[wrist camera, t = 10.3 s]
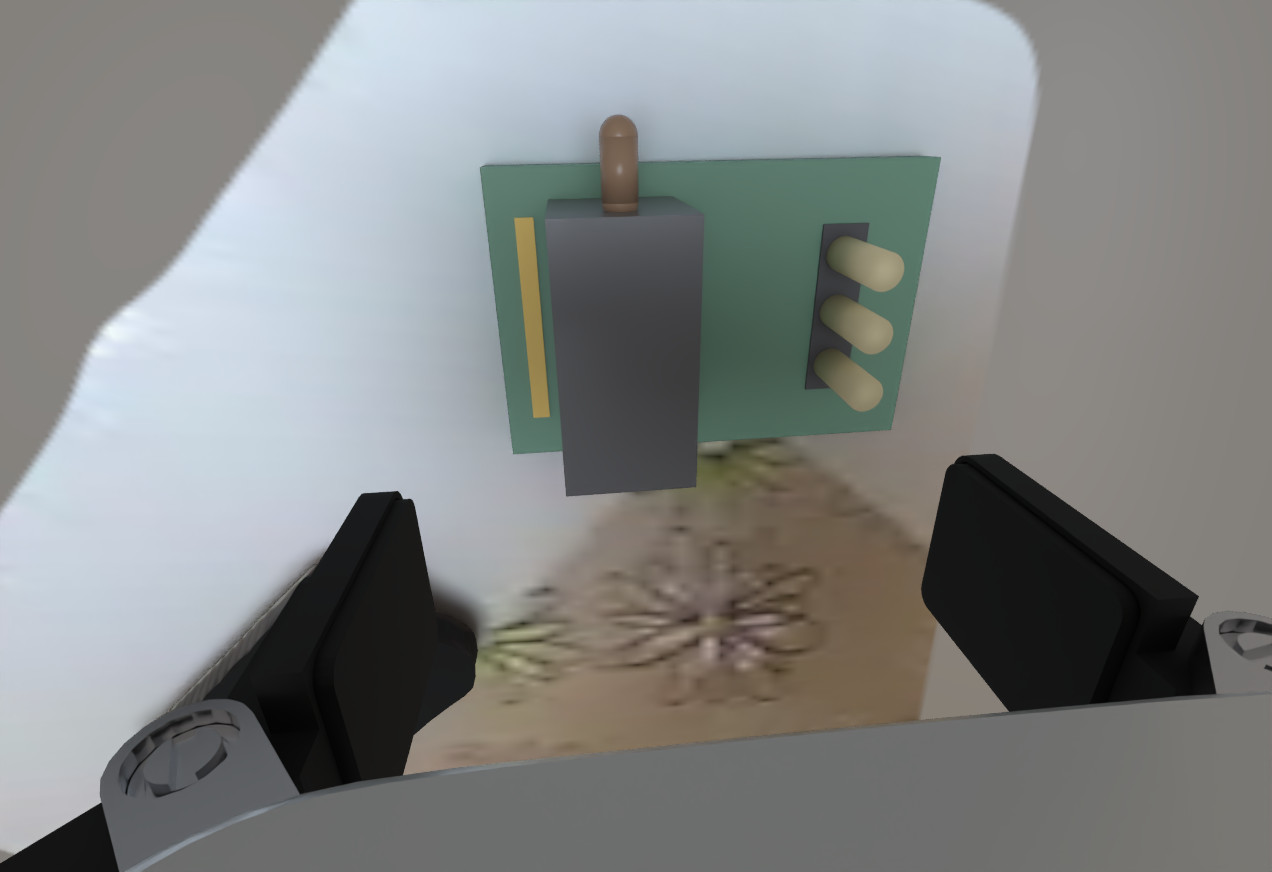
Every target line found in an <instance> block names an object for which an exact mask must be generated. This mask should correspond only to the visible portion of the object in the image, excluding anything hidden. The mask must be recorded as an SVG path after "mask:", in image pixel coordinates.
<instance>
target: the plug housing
mask: <svg viewBox="0 0 1272 872" xmlns="http://www.w3.org/2000/svg"><path fill="white" fill-rule="evenodd" d="M599 146H600V172H601V198H583V199H548V203H547V210H546V216H545V226H546V239H547V252H548V265H549V278H550V291H551V304H552V317H553V330H554V343H555V356H556V369H557V382H558V395H559V409H560V422H561V435H562V448H563V461H564V474H565V487H566V496H579V495H593V494H607V493H621V492H634V491H648V490H662V489H676V488H690V487H696V474H697V442H698V409H699V377H700V344H701V312H702V279H703V247H704V214H703V213H701V212H700V211H698V210H696V209H694V208H692V207H691V206H689V205H687V204H685V203H684V202H682V201H680V200H678V199H677V198H675V197H673V196H654V197H639V186H638V133H637V129H636V126H635V124H634V123H633V122H632V120H631V119H629V118H628V117H626V116H624V115H613V116H610V117H609V118H607V119H606V120H605V121H604V122H603V124H602V126H601V128H600V132H599Z"/></svg>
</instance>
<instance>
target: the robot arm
mask: <svg viewBox="0 0 1272 872" xmlns="http://www.w3.org/2000/svg"><path fill="white" fill-rule="evenodd" d="M921 591H922V597H923V601H924V603H925V605H926V607H927V608H928V609H929V611H930V612H931V613H932V614H933V616H934V617H935V618H936V620H937V621H938V622H939V623H940V625H941V626H942V627H943V628H944V630H945V631H946V632H947V633H948V635H949V636H950V637H951V639H952V640H953V641H954V642H955V644H956V645H957V646H958V647H959V649H960V650H961V651H962V652H963V654H964V655H965V656H966V657H967V659H968V660H969V661H970V663H971V664H972V665H973V666H974V668H975V669H976V670H977V671H978V673H979V674H980V675H981V677H982V678H983V679H984V680H985V682H986V683H987V684H988V685H989V687H990V688H991V689H992V691H993V692H994V693H995V694H996V696H997V697H998V698H999V699H1000V701H1001V702H1002V703H1003V704H1004V706H1005V707H1006V708H1007V710H1008V711H1009V712H1002V713H991V714H980V715H969V716H958V717H948V718H937V719H926V720H916V721H906V722H896V723H885V724H875V725H865V726H854V727H844V728H834V729H824V730H814V731H804V732H794V733H784V734H774V735H763V736H753V737H743V738H733V739H723V740H714V741H704V742H695V743H685V744H675V745H666V746H656V747H647V748H637V749H628V750H618V751H608V752H599V753H589V754H580V755H570V756H561V757H551V758H541V759H532V760H523V761H513V762H504V763H495V764H486V765H476V766H467V767H458V768H451V769H444V770H437V771H430V772H423V773H416V774H409V775H403V773H404V769H405V765H406V762H407V758H408V754H409V750H410V747H411V743H412V739H413V735H414V732H415V728H416V724H417V720H418V717H419V713H420V709H421V705H422V702H423V698H424V694H425V690H426V687H427V683H428V679H429V676H430V672H431V668H432V664H433V661H434V657H435V653H436V649H437V644H438V624H437V619H436V614H435V608H434V603H433V598H432V593H431V588H430V583H429V577H428V572H427V567H426V562H425V557H424V551H423V546H422V541H421V536H420V531H419V526H418V520H417V515H416V510H415V506H414V503H413V500H411V499H403V498H402V496H401V494H400V493H399V492H398V491H394V492H378V493H363V494H361V495H360V497H359V498H358V500H357V501H356V503H355V505H354V506H353V508H352V510H351V511H350V513H349V515H348V516H347V518H346V519H345V521H344V523H343V524H342V526H341V528H340V529H339V531H338V533H337V534H336V536H335V537H334V539H333V541H332V542H331V544H330V546H329V547H328V549H327V551H326V552H325V554H324V556H323V557H322V559H321V560H320V562H319V564H318V565H317V567H316V569H315V570H314V572H313V574H312V575H309V576H307V577H304V578H303V579H302V581H301V582H300V583H299V584H298V586H297V587H296V589H295V590H294V592H293V594H292V595H291V597H290V598H289V600H288V602H287V603H286V605H285V606H284V608H283V610H282V611H281V613H280V614H279V616H278V618H277V619H276V621H275V622H274V624H273V626H272V627H271V629H270V630H269V632H268V633H267V635H266V637H265V638H264V640H263V641H262V643H261V645H260V646H259V648H258V649H257V651H256V653H255V654H254V656H253V657H252V659H251V661H250V662H249V664H248V665H247V667H246V669H245V670H244V672H243V673H242V675H241V677H240V678H239V680H238V681H237V683H236V684H235V686H234V688H233V689H232V691H231V692H230V694H229V696H228V697H227V699H210V700H206V701H202V702H197V703H193V704H189V705H186V706H184V707H182V708H179V709H177V710H174V711H172V712H170V713H167V714H165V715H164V716H162V717H160V718H159V719H157V720H155V721H154V722H152V723H150V724H149V725H147V726H145V727H144V728H142V729H141V730H140V731H139V732H138V733H136V734H135V735H134V736H133V737H132V738H130V739H129V740H128V741H127V742H125V743H124V744H123V746H122V747H121V748H120V749H119V750H118V752H117V753H116V754H115V755H114V756H113V757H112V759H111V760H110V761H109V763H108V765H107V767H106V769H105V771H104V773H103V775H102V777H101V779H100V798H101V803H100V804H98V805H96V806H95V807H93V808H91V809H90V810H88V811H86V812H85V813H83V814H82V815H80V816H78V817H77V818H75V819H73V820H72V821H70V822H68V823H67V824H65V825H63V826H62V827H60V828H58V829H57V830H55V831H53V832H52V833H50V834H48V835H47V836H45V837H43V838H42V839H40V840H38V841H37V842H35V843H33V844H32V845H30V846H28V847H27V848H25V849H23V850H22V851H20V852H18V853H17V854H15V855H13V856H12V857H10V858H8V859H7V860H5V861H3V862H2V863H0V872H1272V618H1269V617H1266V616H1261V615H1256V614H1252V613H1247V612H1237V611H1222V612H1216V613H1212V614H1211V615H1210V616H1208V617H1207V618H1205V620H1204V622H1203V624H1202V625H1201V624H1199V623H1198V622H1197V621H1195V620H1194V619H1193V618H1191V617H1190V615H1191V613H1192V611H1193V608H1194V606H1195V604H1196V602H1197V599H1198V597H1199V596H1198V595H1196V594H1195V593H1193V592H1192V591H1190V590H1189V589H1188V588H1186V587H1185V586H1183V585H1182V584H1181V583H1179V582H1178V581H1176V580H1175V579H1174V578H1172V577H1171V576H1169V575H1168V574H1166V573H1165V572H1164V571H1162V570H1161V569H1159V568H1158V567H1156V566H1155V565H1153V564H1152V563H1151V562H1149V561H1148V560H1146V559H1145V558H1143V557H1142V556H1141V555H1139V554H1138V553H1137V552H1135V551H1134V550H1132V549H1131V548H1129V547H1128V546H1127V545H1125V544H1124V543H1122V542H1121V541H1120V540H1118V539H1117V538H1115V537H1114V536H1112V535H1111V534H1110V533H1108V532H1107V531H1105V530H1104V529H1102V528H1101V527H1100V526H1098V525H1097V524H1095V523H1094V522H1093V521H1091V520H1089V519H1088V518H1087V517H1085V516H1084V515H1083V514H1081V513H1080V512H1078V511H1077V510H1075V509H1074V508H1072V507H1071V506H1070V505H1068V504H1067V503H1066V502H1064V501H1063V500H1061V499H1060V498H1058V497H1057V496H1056V495H1054V494H1053V493H1051V492H1050V491H1048V490H1047V489H1046V488H1044V487H1043V486H1041V485H1040V484H1039V483H1037V482H1036V481H1034V480H1033V479H1031V478H1030V477H1029V476H1027V475H1026V474H1024V473H1023V472H1021V471H1020V470H1019V469H1017V468H1016V467H1014V466H1013V465H1012V464H1010V463H1009V462H1007V461H1006V460H1004V459H1003V458H1002V457H1000V456H998V455H996V454H983V455H967V456H961V457H959V458H958V459H957V460H956V461H955V463H954V464H952V465H950V466H949V467H948V468H947V470H946V473H945V478H944V483H943V487H942V492H941V497H940V501H939V506H938V511H937V516H936V520H935V525H934V530H933V534H932V539H931V544H930V548H929V553H928V558H927V562H926V567H925V572H924V577H923V581H922V587H921Z"/></svg>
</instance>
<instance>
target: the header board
mask: <svg viewBox="0 0 1272 872" xmlns="http://www.w3.org/2000/svg"><path fill="white" fill-rule="evenodd" d="M940 161H941V157H931V156H897V157H851V158H806V159H760V160H715V161H670V162H638V186H639V197H654V196H673V197H675V198H677V199H678V200H680V201H682V202H684V203H685V204H687V205H689V206H691V207H692V208H694V209H696V210H698V211H700V212H701V213H703V214H704V247H703V279H702V312H701V344H700V377H699V409H698V442H710V441H725V440H741V439H756V438H772V437H787V436H803V435H818V434H834V433H849V432H865V431H880V430H891V428H892V422H893V417H894V411H895V406H896V400H897V395H898V389H899V384H900V378H901V373H902V368H903V362H904V357H905V351H906V346H907V340H908V335H909V329H910V324H911V319H912V313H913V308H914V302H915V297H916V291H917V286H918V280H919V275H920V270H921V264H922V259H923V253H924V248H925V242H926V237H927V231H928V226H929V221H930V215H931V210H932V204H933V199H934V193H935V188H936V182H937V177H938V171H939V166H940ZM480 172H481V181H482V189H483V198H484V207H485V215H486V224H487V233H488V241H489V250H490V258H491V267H492V276H493V284H494V293H495V302H496V310H497V319H498V327H499V336H500V345H501V353H502V362H503V371H504V379H505V388H506V396H507V405H508V414H509V422H510V431H511V439H512V448H513V454H524V453H540V452H555V451H563V448H562V435H561V422H560V409H559V395H558V382H557V369H556V356H555V343H554V330H553V317H552V304H551V291H550V278H549V265H548V252H547V239H546V226H545V216H546V210H547V203H548V199H583V198H601V172H600V163H579V164H533V165H488V166H482V167H480Z"/></svg>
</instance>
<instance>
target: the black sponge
mask: <svg viewBox="0 0 1272 872" xmlns="http://www.w3.org/2000/svg"><path fill="white" fill-rule="evenodd" d="M317 565H318V564H317ZM317 565H315V566H313V567H311V568H310V569H309V570H308V571H307V572H306V573H305V574H304V575H303V576H302V577H301V578H300V579H299V580H298V581H297V582H296V583H295V584H294V585H293V586H292V587H291V588H290V589H289V590H288V591H287V592H286V593H285V594H284V595H283V596H282V597H281V598H280V599H279V600H278V601H277V602H276V603H275V604H274V605H273V606H272V607H271V608H270V609H269V610H268V612H267V613H266V614H264V615H263V616H261V617H260V618H259V620H258V621H257V622H256V623H255V624H254V625H253V626H252V628H251V629H250V630H249V631H248V632H247V633H246V634H245V635H244V636H243V637H242V638H241V640H240V641H238V642H237V643H236V644H235V645H234V646H233V647H232V648H231V649H230V650H229V651H228V652H227V654H226V655H225V656H224V657H223V658H221V659H220V660H219V661H218V663H217V664H216V665H215V666H213V667H212V668H211V669H210V670H208V671H207V673H206V674H205V675H204V676H203V677H202V678H201V679H200V680H199V681H198V682H197V683H196V684H195V685H194V686H193V687H192V688H191V689H190V691H189V692H187V693H186V694H185V695H184V696H183V697H182V699H181V700H179V701H178V702H177V703H176V704H175V705H174V707H173V708H172V709H171V710H170V712H172V711H174V710H177V709H179V708H182V707H184V706H186V705H189V704H193V703H197V702H202V701H206V700H210V699H227V697H228V696H229V694H230V692H231V691H232V689H233V688H234V686H235V684H236V683H237V681H238V680H239V678H240V677H241V675H242V673H243V672H244V670H245V669H246V667H247V665H248V664H249V662H250V661H251V659H252V657H253V656H254V654H255V653H256V651H257V649H258V648H259V646H260V645H261V643H262V641H263V640H264V638H265V637H266V635H267V633H268V632H269V630H270V629H271V627H272V626H273V624H274V622H275V621H276V619H277V618H278V616H279V614H280V613H281V611H282V610H283V608H284V606H285V605H286V603H287V602H288V600H289V598H290V597H291V595H292V594H293V592H294V590H295V589H296V587H297V586H298V584H299V583H300V582H301V581H302V579H303V578H304V577H307V576H309V575H312V574H313V572H314V570H315V569H316V567H317ZM435 614H436V619H437V624H438V644H437V649H436V653H435V657H434V661H433V664H432V668H431V672H430V676H429V679H428V683H427V687H426V690H425V694H424V698H423V702H422V705H421V709H420V713H419V717H418V720H417V724H416V728H415V732H414V734H416V733H417V732H418V731H419V730H420V729H421V728H423V727H424V726H425V725H426V724H427V723H428V722H430V721H431V720H432V719H433V718H435V717H436V716H437V715H439V714H440V713H441V712H443V711H444V710H445V709H447V708H448V707H449V706H451V705H452V704H454V703H455V702H457V701H458V700H460V699H461V698H462V697H464V696H465V695H466V694H467V693H468V692H469V691H470V690H471V689H472V688H473V685H474V681H475V676H476V675H475V663H476V658H477V652H478V649H477V642H476V637H475V635H474V632H473V631H472V630H471V629H470V628H468V627H467V626H466V625H464V624H462V623H460V622H458V621H456V620H454V619H452V618H451V617H449V616H447V615H445V614H443V613H440V612H437V611H435ZM170 712H168V713H170Z"/></svg>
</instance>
